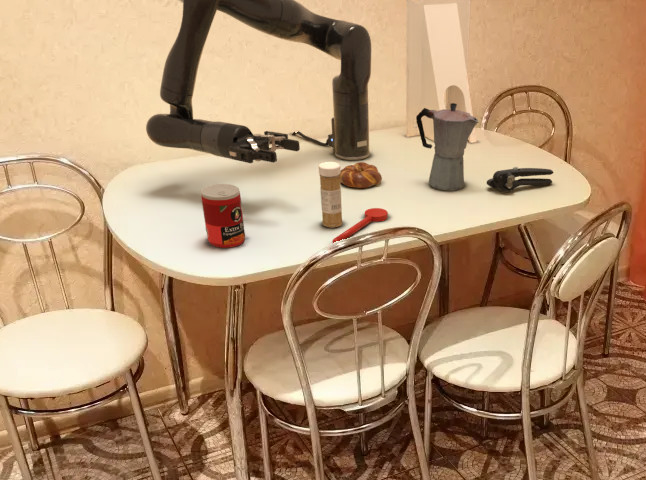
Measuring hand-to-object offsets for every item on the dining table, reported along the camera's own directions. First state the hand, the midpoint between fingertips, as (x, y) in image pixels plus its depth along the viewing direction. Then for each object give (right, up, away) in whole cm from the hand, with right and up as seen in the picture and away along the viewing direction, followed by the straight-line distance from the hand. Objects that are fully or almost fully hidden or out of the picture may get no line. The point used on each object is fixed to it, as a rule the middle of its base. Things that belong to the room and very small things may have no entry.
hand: (287, 151), depth 167 cm
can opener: (+54, -1, +26) cm, 60 cm away
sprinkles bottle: (+9, -15, +4) cm, 18 cm away
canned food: (-12, -20, -4) cm, 24 cm away
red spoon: (+15, -16, +2) cm, 22 cm away
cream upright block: (+36, +22, +59) cm, 73 cm away
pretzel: (+13, +1, +27) cm, 30 cm away
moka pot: (+34, -1, +26) cm, 43 cm away
